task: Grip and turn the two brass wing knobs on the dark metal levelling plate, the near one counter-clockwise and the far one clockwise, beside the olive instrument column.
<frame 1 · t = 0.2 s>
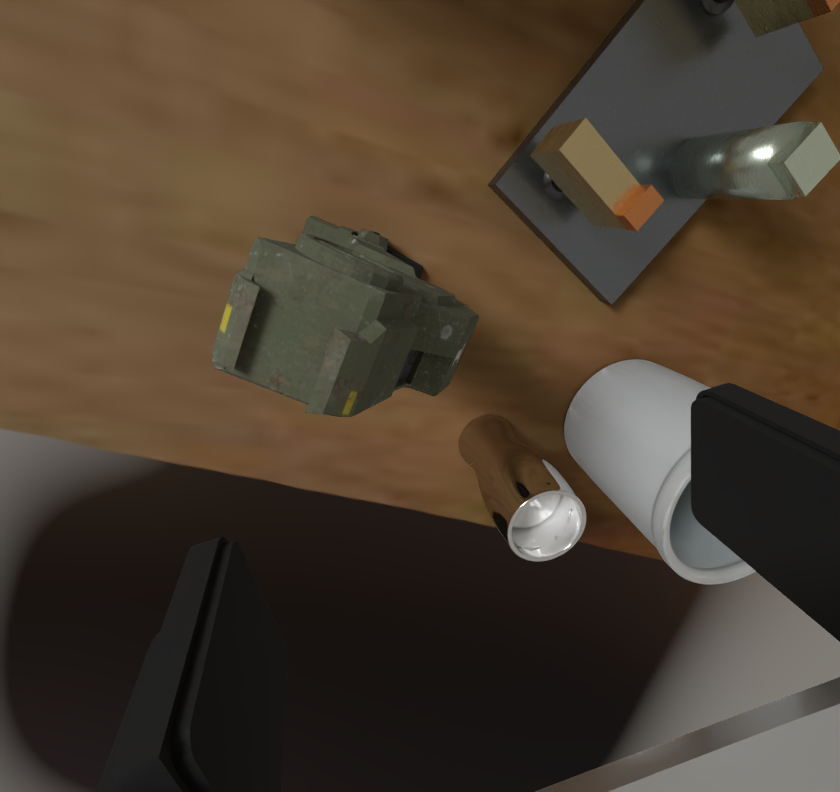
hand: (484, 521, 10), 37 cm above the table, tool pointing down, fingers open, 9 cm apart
knob a: (587, 177, 38), point 7 cm above the table, hinge at 0.0°
utensil holder: (621, 418, 55), on the table
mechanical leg: (348, 266, 43), on the table
level plate: (648, 128, 44), on the table
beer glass: (485, 440, 53), on the table
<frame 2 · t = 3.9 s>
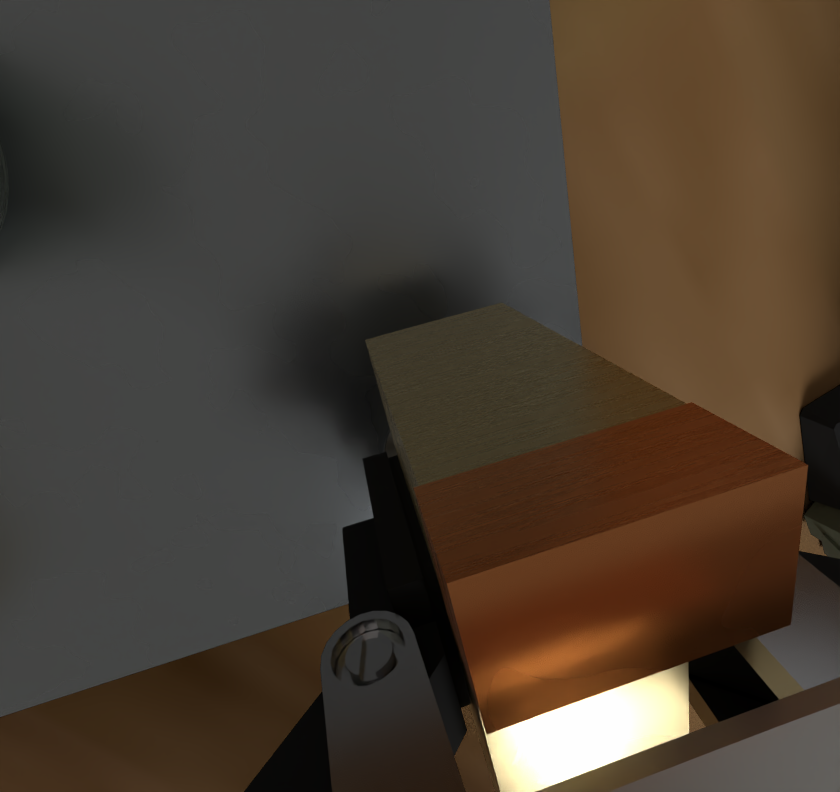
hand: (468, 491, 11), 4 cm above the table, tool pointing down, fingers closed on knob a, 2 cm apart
knob a: (507, 564, 9), point 7 cm above the table, hinge at 0.0°, touching gripper
level plate: (45, 375, 12), on the table
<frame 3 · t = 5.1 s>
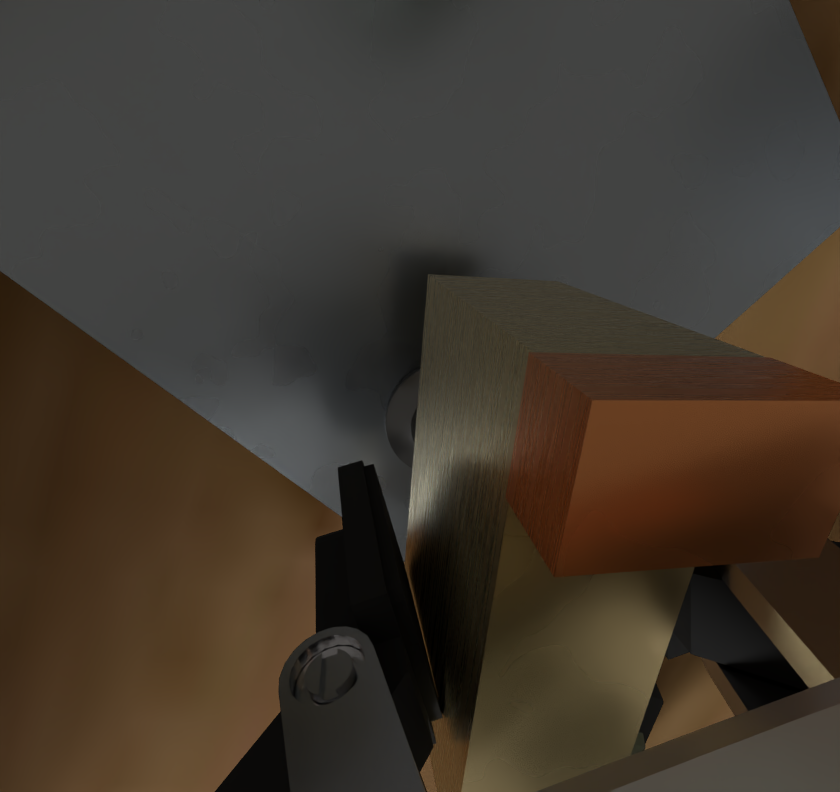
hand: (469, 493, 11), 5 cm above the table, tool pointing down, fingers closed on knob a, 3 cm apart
knob a: (503, 519, 9), point 7 cm above the table, hinge at 42.1°, touching gripper
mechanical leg: (535, 754, 23), on the table
level plate: (286, 7, 11), on the table
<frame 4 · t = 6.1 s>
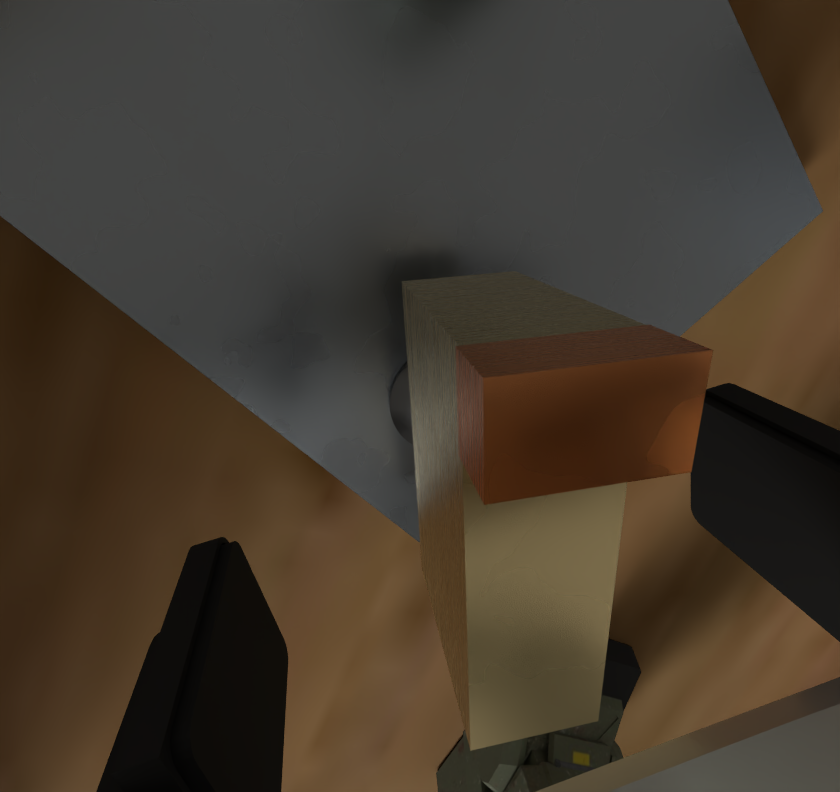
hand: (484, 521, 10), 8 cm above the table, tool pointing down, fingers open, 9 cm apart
knob a: (488, 479, 11), point 7 cm above the table, hinge at 50.7°
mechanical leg: (522, 721, 25), on the table
level plate: (309, 38, 13), on the table
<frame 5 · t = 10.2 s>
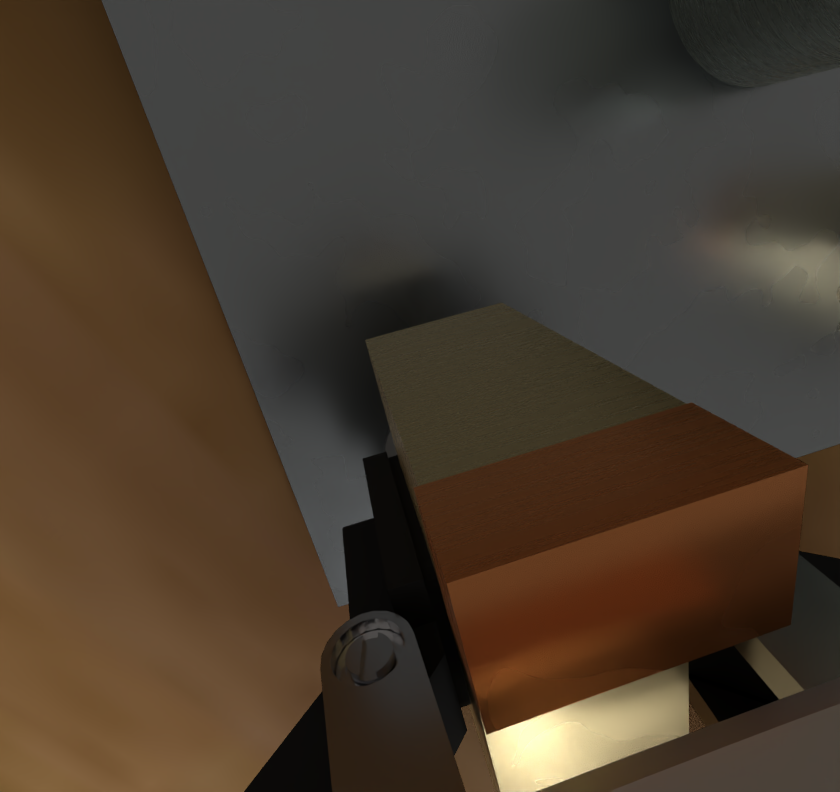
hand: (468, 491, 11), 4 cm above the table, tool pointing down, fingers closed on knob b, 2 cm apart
knob b: (507, 564, 9), point 7 cm above the table, hinge at 0.0°, touching gripper
level plate: (704, 201, 14), on the table
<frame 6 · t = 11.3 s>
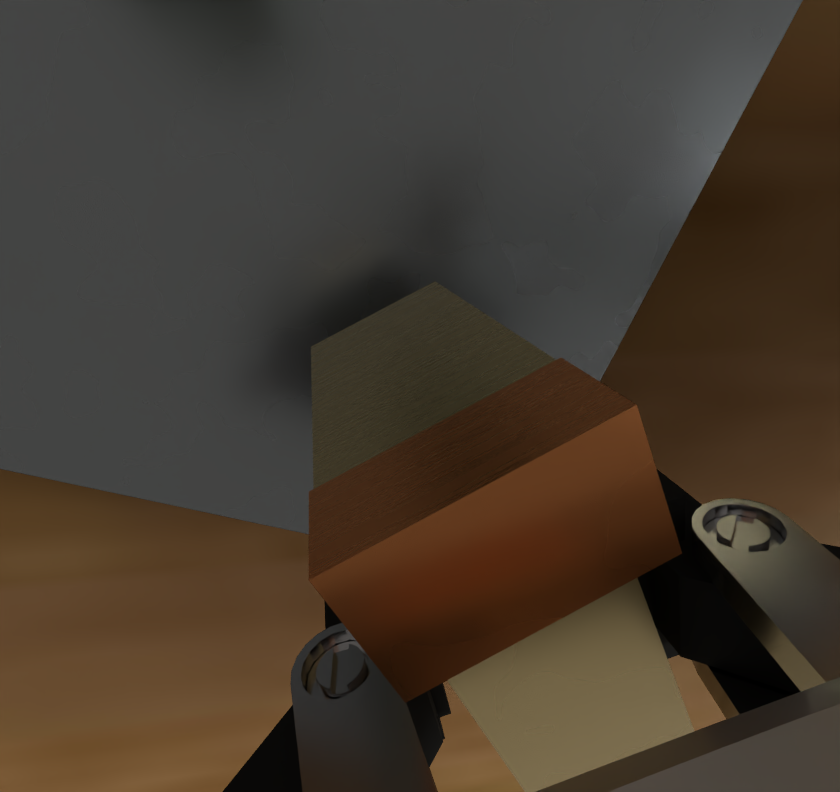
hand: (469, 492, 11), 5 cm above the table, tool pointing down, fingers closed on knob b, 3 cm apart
knob b: (489, 532, 9), point 7 cm above the table, hinge at -41.5°, touching gripper
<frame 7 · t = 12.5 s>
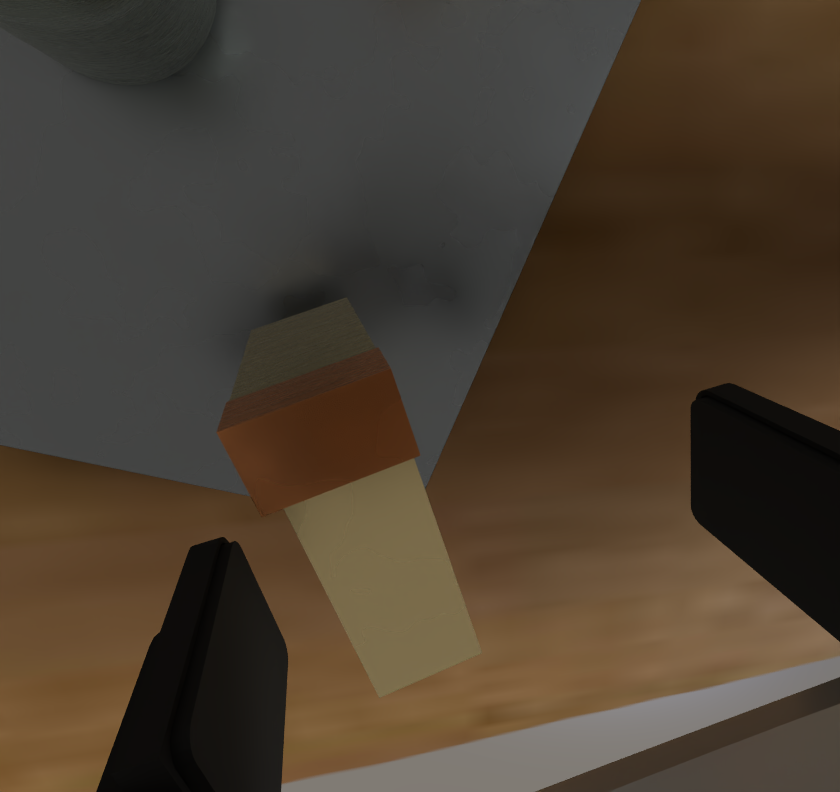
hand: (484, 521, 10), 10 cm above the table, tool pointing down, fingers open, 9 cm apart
knob b: (360, 477, 13), point 7 cm above the table, hinge at -50.9°
level plate: (309, 83, 15), on the table
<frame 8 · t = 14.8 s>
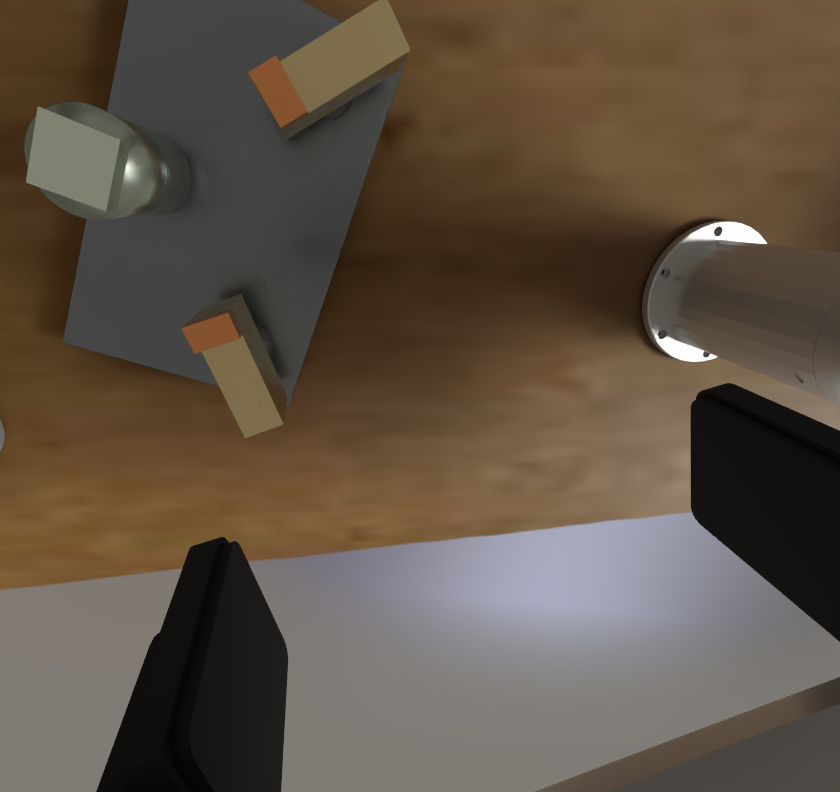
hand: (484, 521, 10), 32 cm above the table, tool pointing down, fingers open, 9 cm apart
knob a: (330, 76, 29), point 7 cm above the table, hinge at 51.2°
knob b: (244, 362, 33), point 7 cm above the table, hinge at -51.2°
level plate: (233, 203, 36), on the table
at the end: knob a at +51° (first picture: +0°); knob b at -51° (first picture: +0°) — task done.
